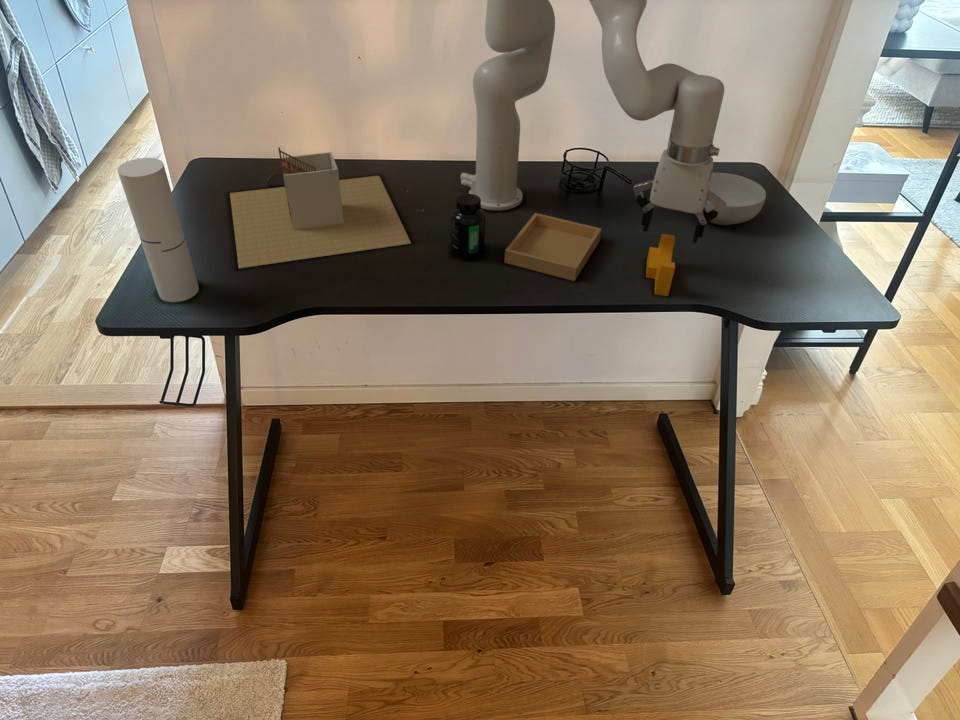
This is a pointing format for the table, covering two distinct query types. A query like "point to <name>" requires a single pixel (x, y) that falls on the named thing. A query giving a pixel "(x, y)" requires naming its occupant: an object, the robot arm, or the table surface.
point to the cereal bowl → (736, 198)
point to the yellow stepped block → (661, 265)
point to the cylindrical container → (159, 228)
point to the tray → (553, 246)
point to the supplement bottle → (468, 227)
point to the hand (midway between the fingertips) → (670, 233)
